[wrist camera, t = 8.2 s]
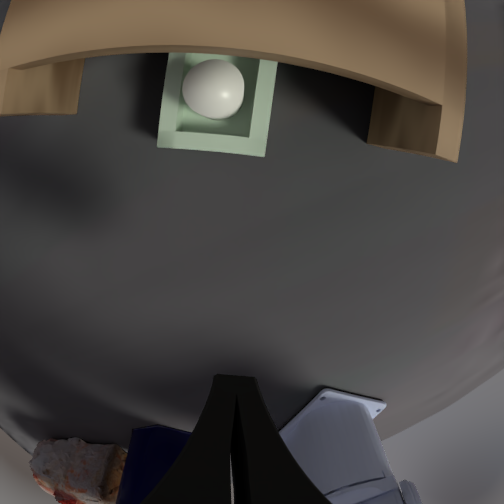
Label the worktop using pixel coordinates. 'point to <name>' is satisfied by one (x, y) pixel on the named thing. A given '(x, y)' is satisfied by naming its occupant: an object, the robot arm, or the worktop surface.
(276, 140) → the worktop surface
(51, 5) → the wooden arch bridge
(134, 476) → the bottle
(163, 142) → the tray
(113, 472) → the food item
